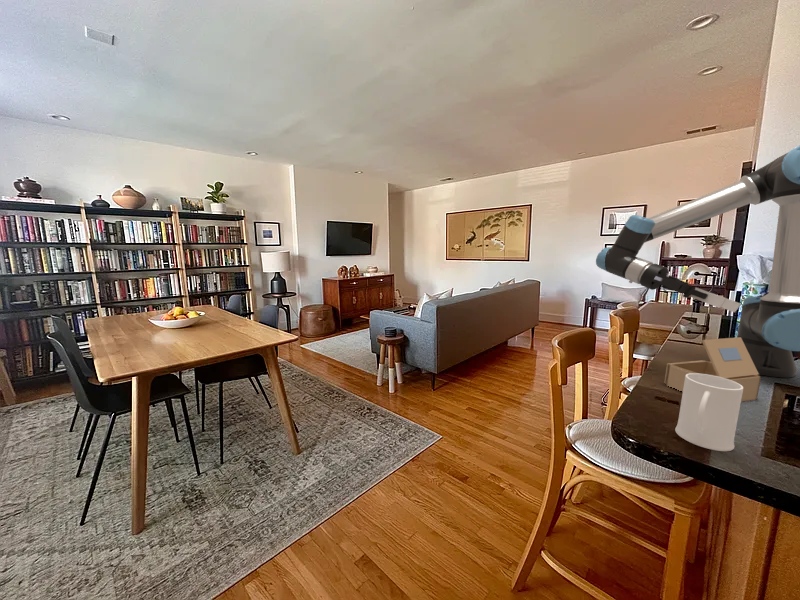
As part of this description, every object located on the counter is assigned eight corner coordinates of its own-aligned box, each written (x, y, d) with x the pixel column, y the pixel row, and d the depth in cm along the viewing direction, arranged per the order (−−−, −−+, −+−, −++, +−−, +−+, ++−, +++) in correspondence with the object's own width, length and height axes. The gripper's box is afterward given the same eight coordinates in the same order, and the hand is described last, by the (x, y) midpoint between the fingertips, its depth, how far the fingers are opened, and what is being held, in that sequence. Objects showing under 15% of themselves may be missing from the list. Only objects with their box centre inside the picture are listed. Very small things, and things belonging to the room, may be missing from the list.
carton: (701, 379, 94) (705, 359, 93) (758, 399, 82) (763, 376, 81) (660, 384, 90) (663, 363, 89) (714, 405, 78) (718, 381, 77)
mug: (720, 463, 56) (731, 398, 54) (661, 438, 63) (669, 380, 62) (740, 443, 62) (751, 384, 61) (684, 422, 70) (692, 369, 68)
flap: (756, 374, 81) (738, 337, 84) (759, 374, 80) (741, 337, 84) (718, 378, 78) (701, 340, 81) (721, 378, 77) (704, 339, 81)
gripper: (656, 289, 109) (734, 321, 93) (621, 279, 96) (706, 314, 79) (669, 269, 107) (752, 298, 90) (636, 256, 93) (726, 287, 77)
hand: (730, 305), depth 85 cm, fingers open, 13 cm apart
